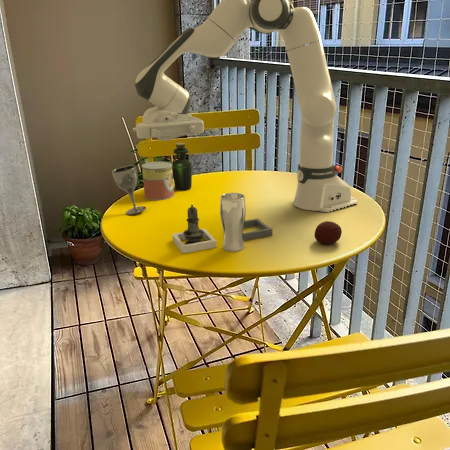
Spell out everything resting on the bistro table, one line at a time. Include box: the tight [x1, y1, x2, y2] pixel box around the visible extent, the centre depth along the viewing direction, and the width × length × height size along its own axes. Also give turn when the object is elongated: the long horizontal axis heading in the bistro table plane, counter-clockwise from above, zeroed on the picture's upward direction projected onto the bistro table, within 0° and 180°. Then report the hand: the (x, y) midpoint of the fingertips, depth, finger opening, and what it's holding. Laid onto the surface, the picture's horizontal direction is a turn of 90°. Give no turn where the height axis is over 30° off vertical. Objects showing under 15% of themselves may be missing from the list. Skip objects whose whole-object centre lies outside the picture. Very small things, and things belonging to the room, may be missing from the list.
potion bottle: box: [172, 142, 193, 192], centre depth 178 cm, size 8×8×18 cm
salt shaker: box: [182, 204, 204, 245], centre depth 128 cm, size 6×6×12 cm
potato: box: [314, 220, 343, 245], centre depth 128 cm, size 7×8×6 cm
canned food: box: [141, 160, 175, 201], centre depth 171 cm, size 11×11×12 cm
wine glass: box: [111, 164, 147, 215], centre depth 153 cm, size 8×8×15 cm
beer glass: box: [219, 192, 247, 253], centre depth 124 cm, size 7×7×15 cm
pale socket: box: [171, 228, 218, 254], centre depth 130 cm, size 10×10×2 cm
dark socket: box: [243, 218, 273, 242], centre depth 136 cm, size 10×10×2 cm
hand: (176, 132), depth 129 cm, fingers open, 8 cm apart
